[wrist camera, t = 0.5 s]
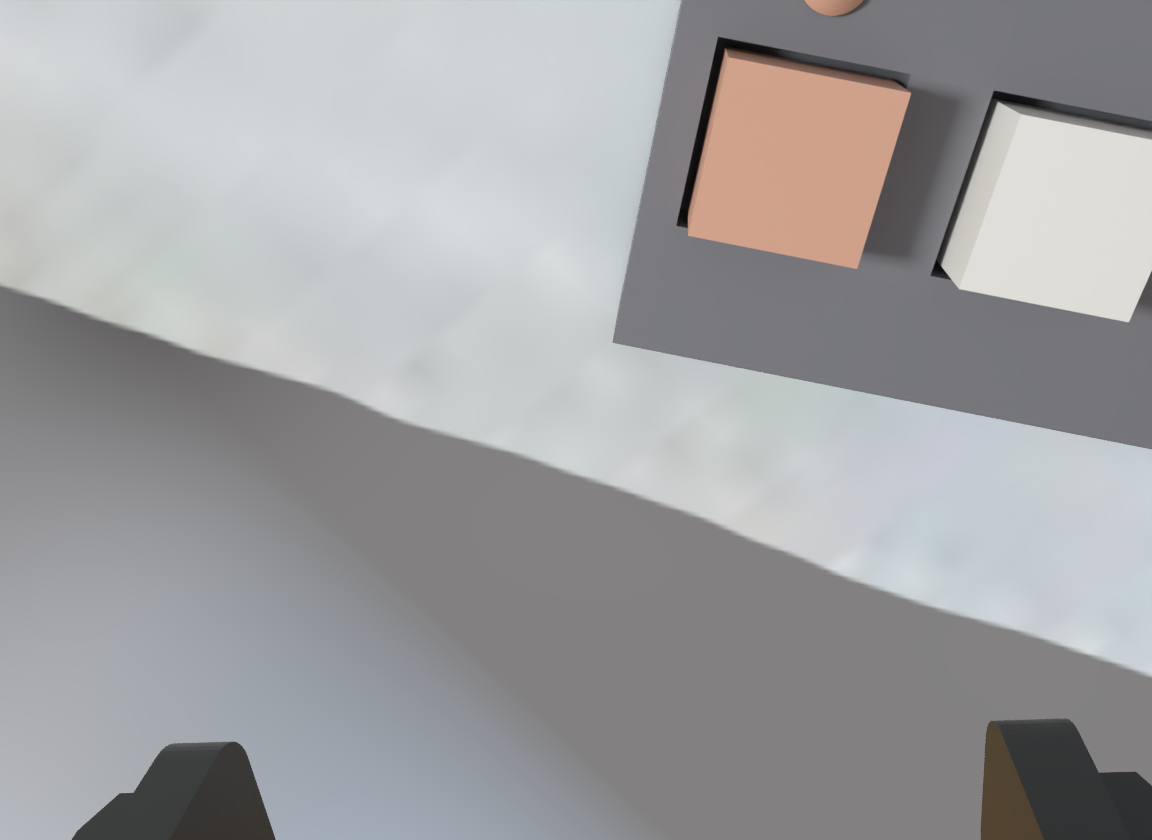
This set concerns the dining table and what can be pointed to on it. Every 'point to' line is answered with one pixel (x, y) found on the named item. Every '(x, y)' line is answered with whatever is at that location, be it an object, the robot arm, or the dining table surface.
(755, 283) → the keypad
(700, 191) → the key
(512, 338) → the dining table surface
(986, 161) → the key middle
